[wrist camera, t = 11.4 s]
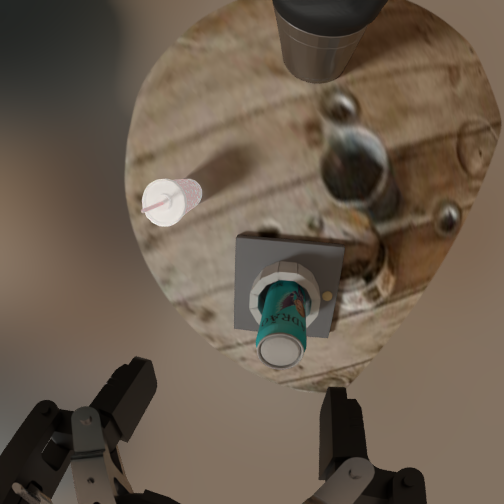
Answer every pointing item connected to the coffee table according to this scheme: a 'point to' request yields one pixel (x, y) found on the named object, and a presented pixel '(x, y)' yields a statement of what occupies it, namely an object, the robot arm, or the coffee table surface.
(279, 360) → the beverage can
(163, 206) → the beverage cup
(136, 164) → the coffee table surface
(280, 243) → the mount plate
